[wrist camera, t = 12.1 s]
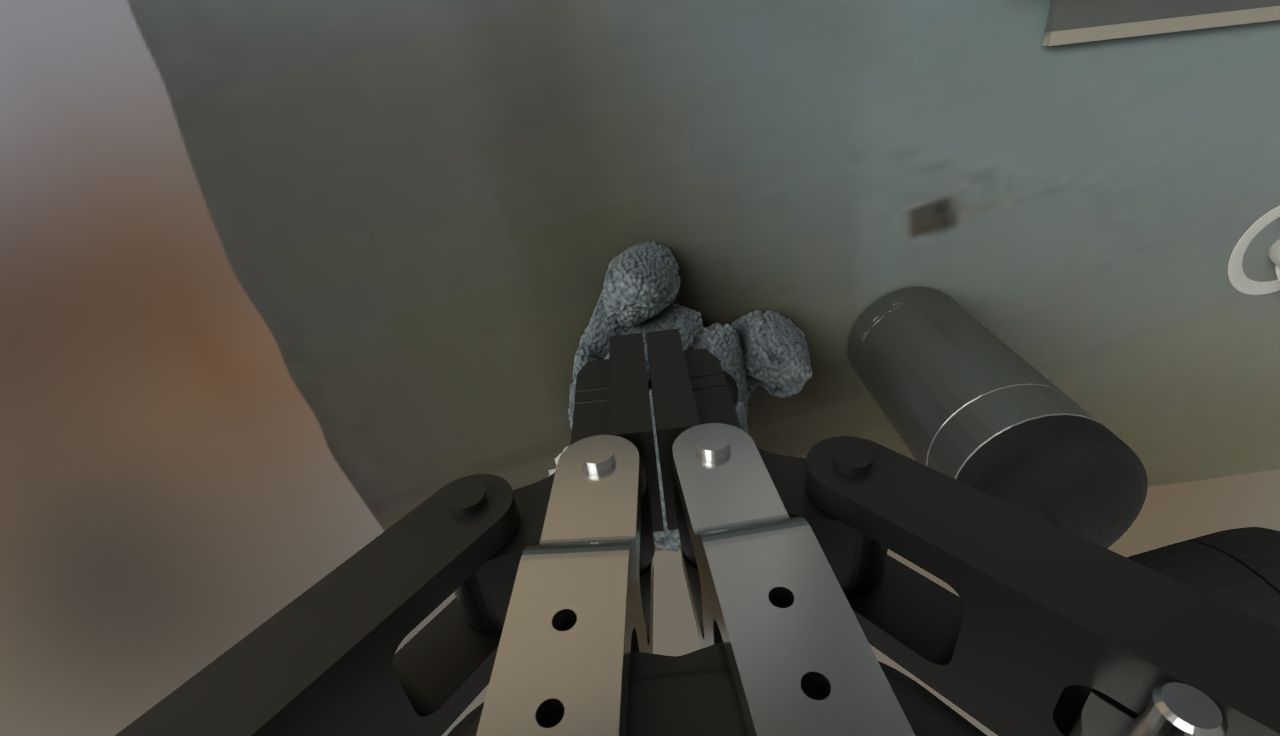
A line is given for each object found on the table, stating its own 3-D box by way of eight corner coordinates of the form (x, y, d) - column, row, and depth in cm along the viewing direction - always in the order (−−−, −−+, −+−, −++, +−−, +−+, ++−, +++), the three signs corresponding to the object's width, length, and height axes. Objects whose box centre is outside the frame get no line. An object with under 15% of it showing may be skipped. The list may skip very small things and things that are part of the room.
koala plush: (812, 323, 48) (923, 490, 31) (692, 475, 55) (729, 675, 39) (624, 219, 43) (635, 352, 26) (521, 401, 50) (477, 595, 34)
